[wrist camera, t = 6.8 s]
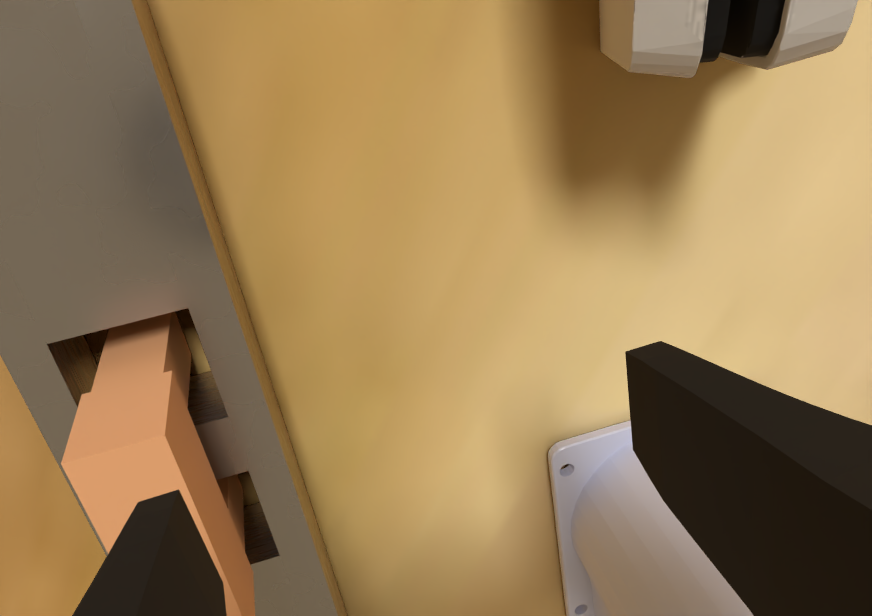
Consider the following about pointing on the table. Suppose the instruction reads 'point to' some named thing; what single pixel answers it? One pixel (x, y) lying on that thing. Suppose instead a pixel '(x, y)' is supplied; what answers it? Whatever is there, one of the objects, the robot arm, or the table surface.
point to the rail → (134, 263)
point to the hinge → (719, 32)
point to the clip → (154, 449)
